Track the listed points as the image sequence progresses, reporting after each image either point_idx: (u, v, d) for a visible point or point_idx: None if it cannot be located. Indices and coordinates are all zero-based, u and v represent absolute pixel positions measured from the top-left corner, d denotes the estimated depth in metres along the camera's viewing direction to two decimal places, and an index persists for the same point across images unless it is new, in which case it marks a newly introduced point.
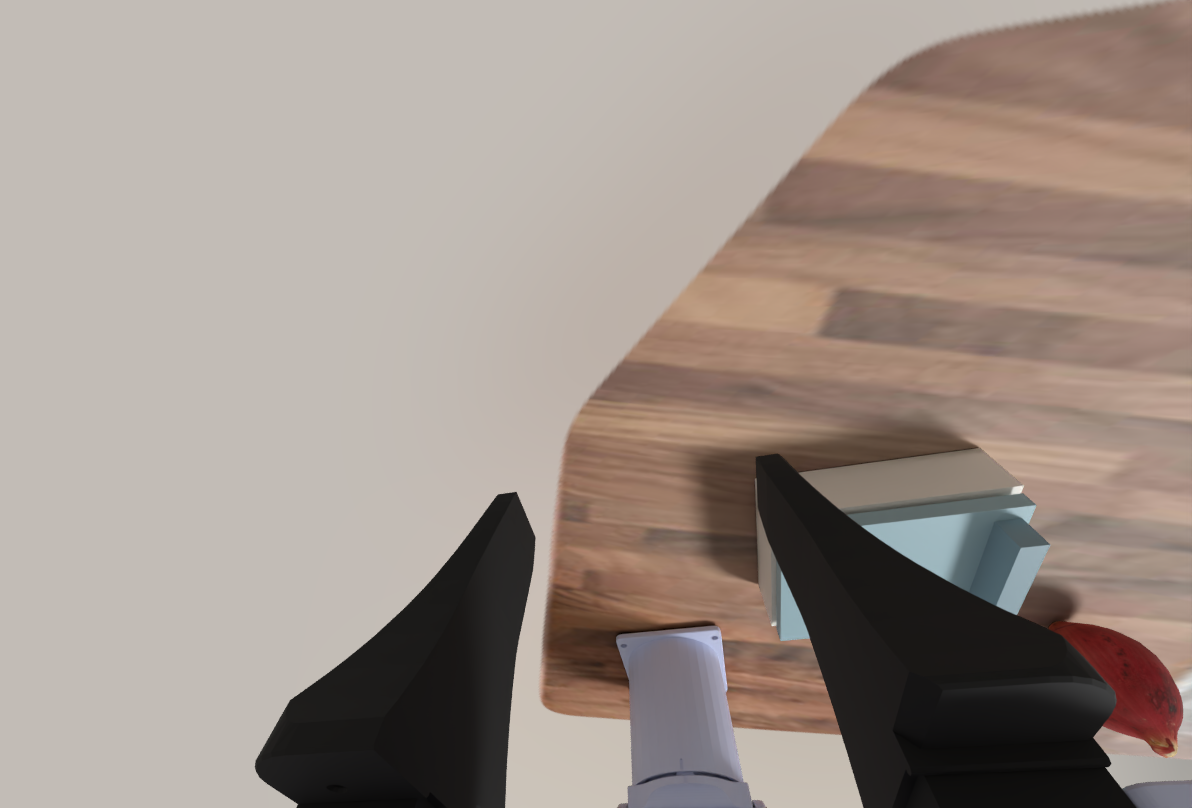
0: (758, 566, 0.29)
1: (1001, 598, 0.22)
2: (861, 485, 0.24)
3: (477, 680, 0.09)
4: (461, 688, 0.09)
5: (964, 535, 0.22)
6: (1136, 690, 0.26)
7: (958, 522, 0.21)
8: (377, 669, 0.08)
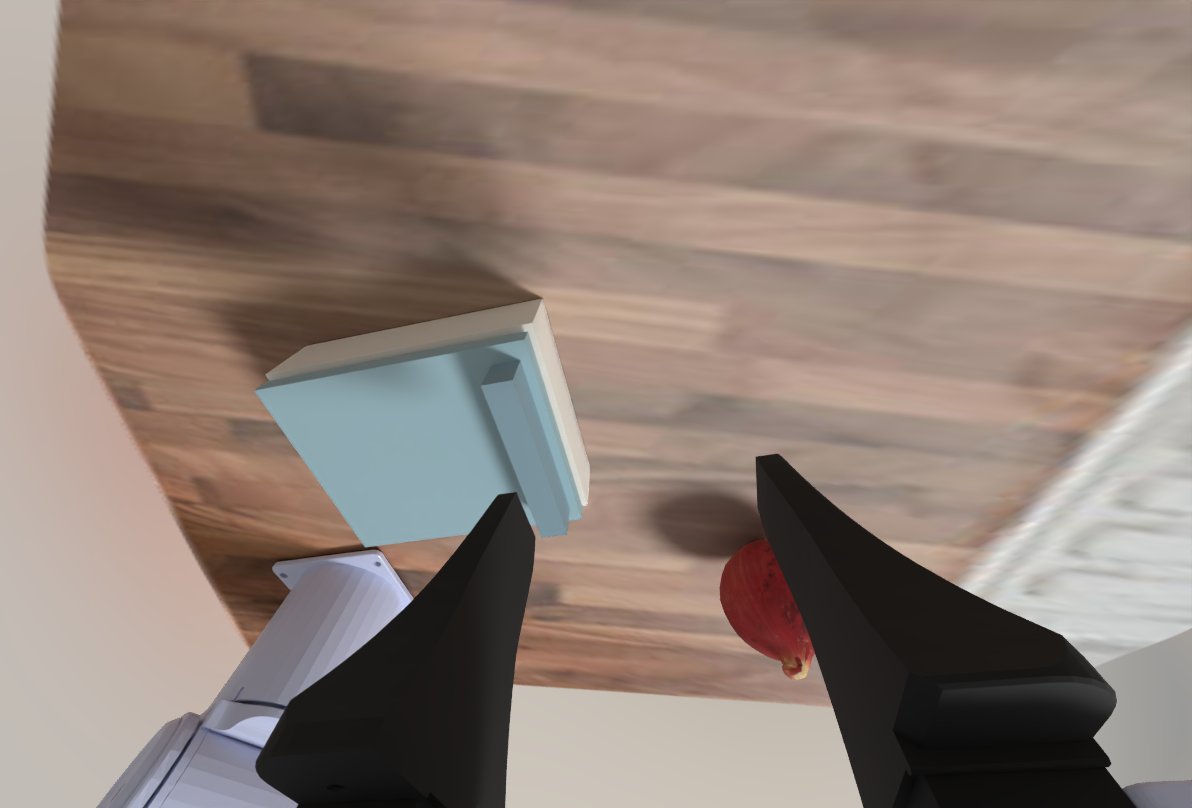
0: None
1: (515, 466, 0.18)
2: (387, 340, 0.19)
3: (477, 680, 0.09)
4: (461, 688, 0.09)
5: (469, 388, 0.18)
6: (773, 602, 0.22)
7: (449, 368, 0.17)
8: (377, 669, 0.08)
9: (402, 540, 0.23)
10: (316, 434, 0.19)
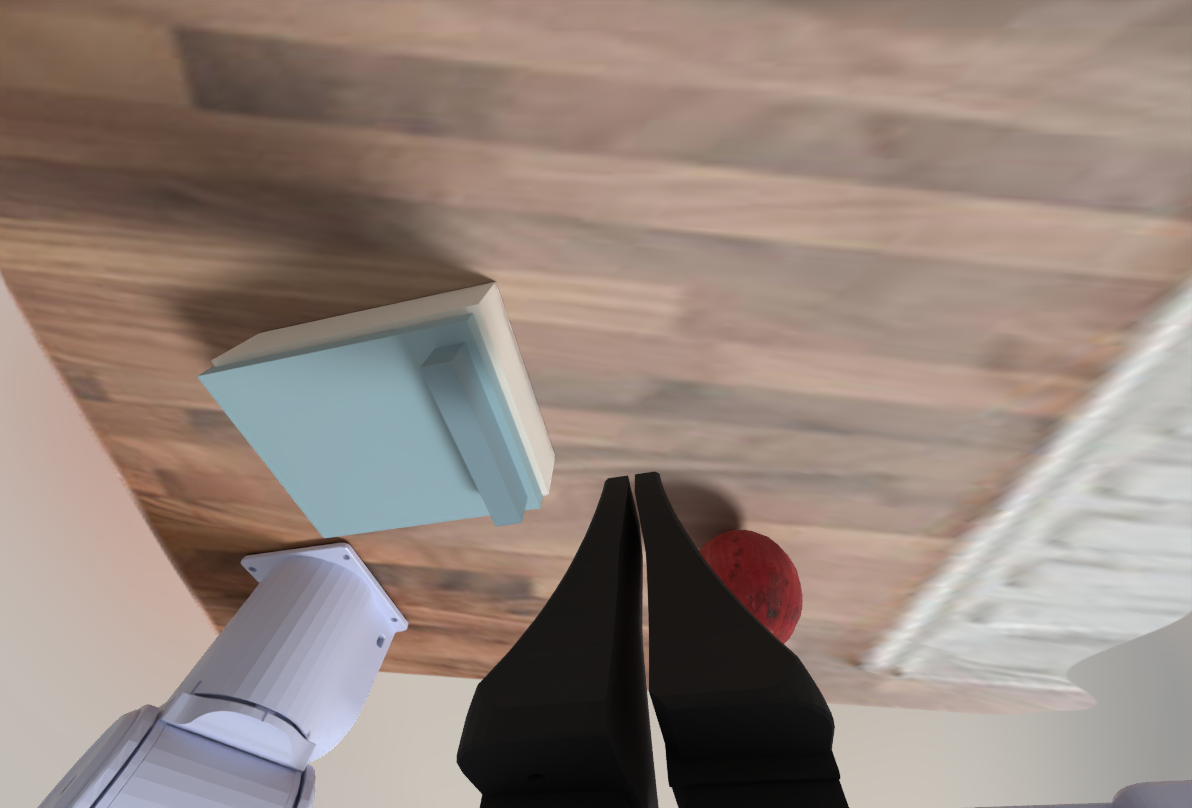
0: None
1: (463, 452, 0.17)
2: (336, 325, 0.19)
3: (632, 667, 0.09)
4: (628, 674, 0.08)
5: (415, 372, 0.17)
6: (737, 593, 0.22)
7: (393, 351, 0.17)
8: (560, 652, 0.07)
9: (361, 531, 0.22)
10: (264, 421, 0.19)
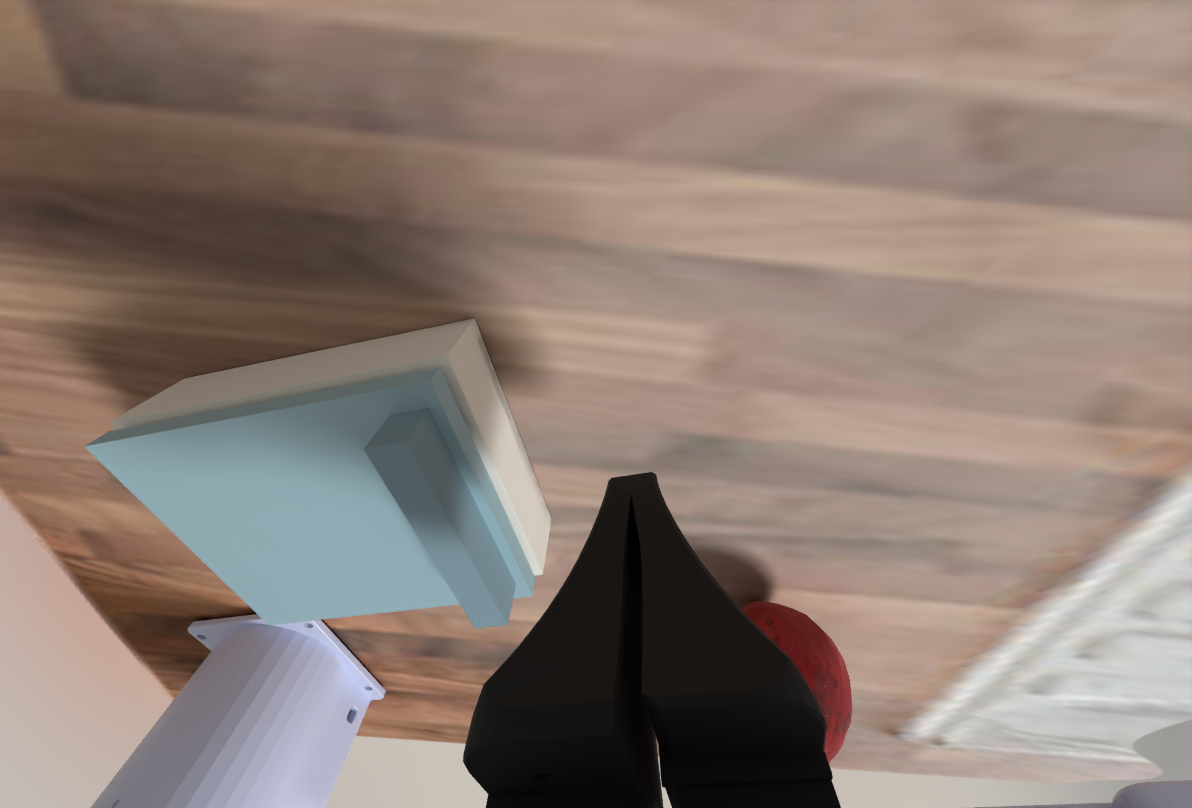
0: None
1: (428, 548, 0.13)
2: (272, 374, 0.15)
3: (638, 667, 0.09)
4: (634, 674, 0.08)
5: (366, 442, 0.13)
6: None
7: (335, 417, 0.13)
8: (567, 652, 0.07)
9: (313, 618, 0.18)
10: (178, 498, 0.15)
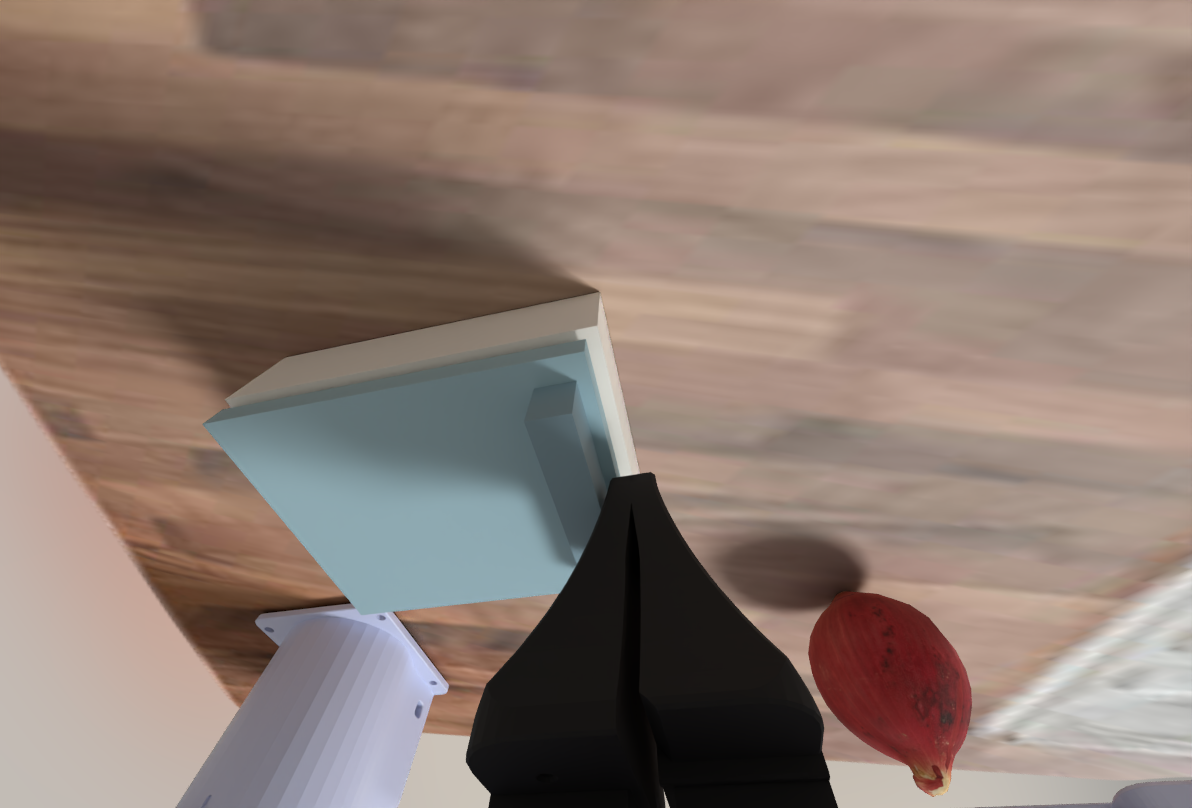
0: None
1: (567, 530, 0.13)
2: (391, 350, 0.14)
3: (639, 666, 0.09)
4: (636, 674, 0.08)
5: (502, 419, 0.13)
6: (896, 689, 0.17)
7: (474, 392, 0.12)
8: (569, 651, 0.07)
9: (409, 607, 0.17)
10: (291, 480, 0.14)
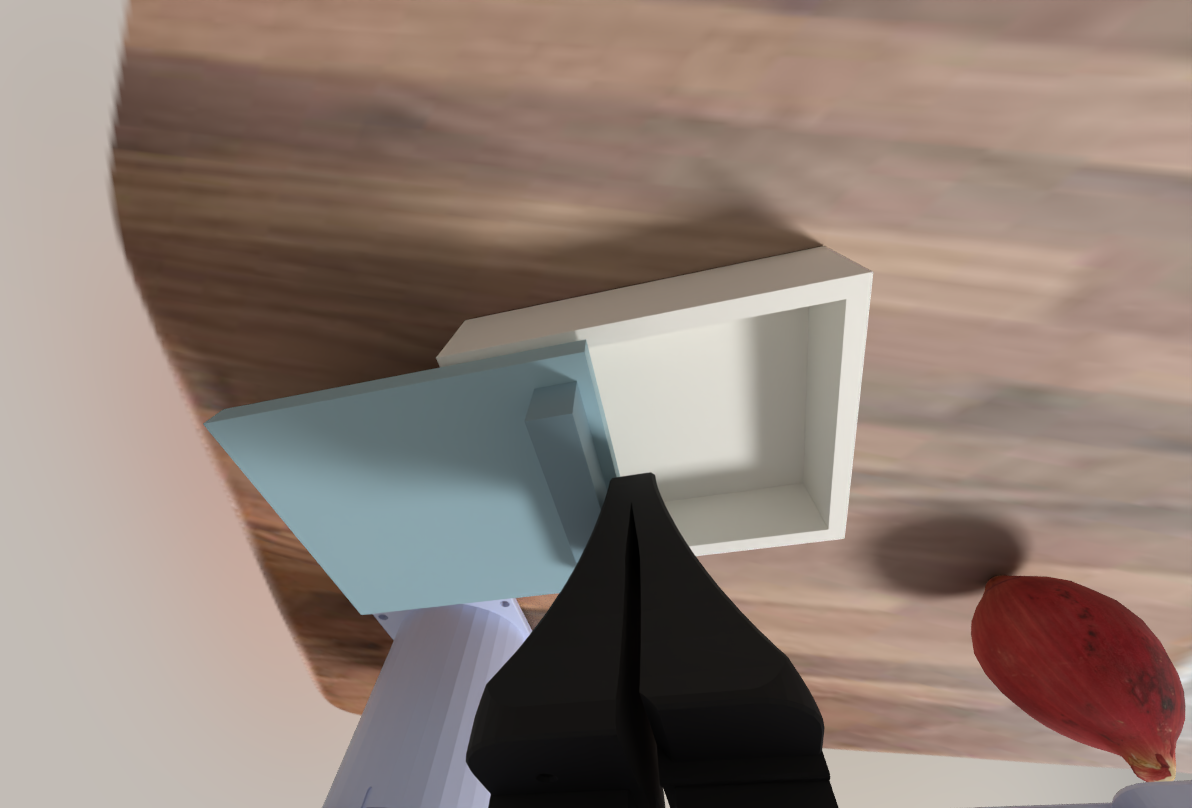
0: None
1: (568, 529, 0.13)
2: (608, 306, 0.13)
3: (639, 666, 0.09)
4: (635, 674, 0.08)
5: (502, 419, 0.13)
6: (1107, 673, 0.16)
7: (475, 392, 0.12)
8: (569, 651, 0.07)
9: (409, 607, 0.17)
10: (292, 480, 0.14)
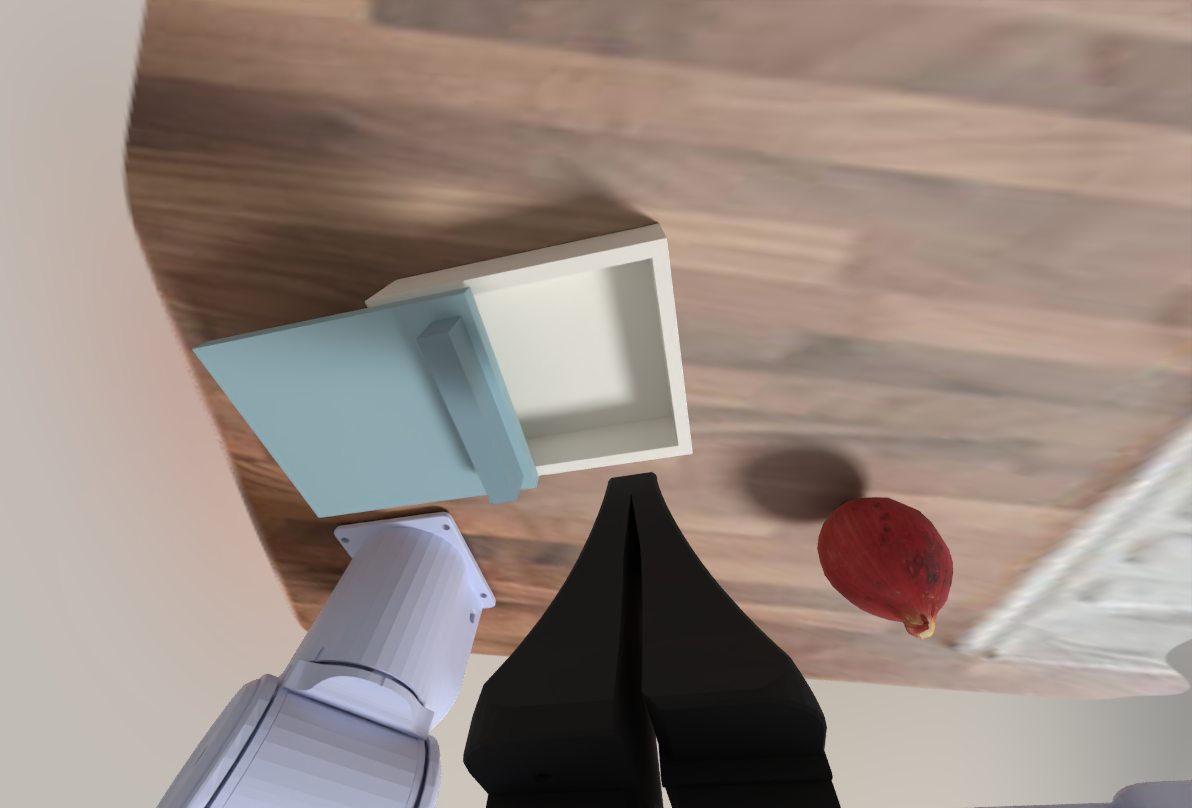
0: None
1: (459, 427, 0.17)
2: (494, 266, 0.18)
3: (637, 666, 0.09)
4: (633, 674, 0.08)
5: (412, 346, 0.17)
6: (892, 557, 0.21)
7: (389, 324, 0.17)
8: (567, 652, 0.07)
9: (356, 510, 0.22)
10: (259, 396, 0.19)
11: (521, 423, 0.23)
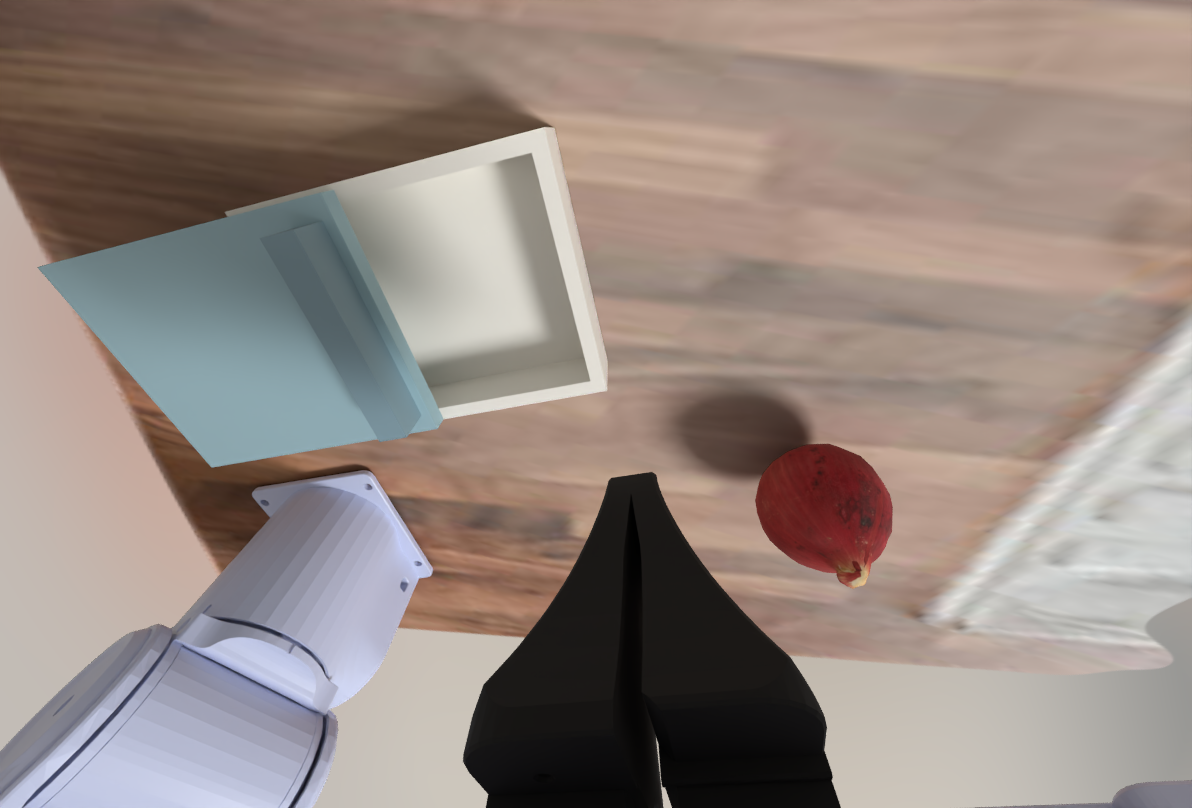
0: None
1: (327, 348, 0.16)
2: None
3: (637, 667, 0.09)
4: (633, 674, 0.08)
5: None
6: (824, 501, 0.19)
7: (246, 232, 0.15)
8: (567, 652, 0.07)
9: (249, 458, 0.20)
10: (121, 323, 0.17)
11: (432, 366, 0.22)
